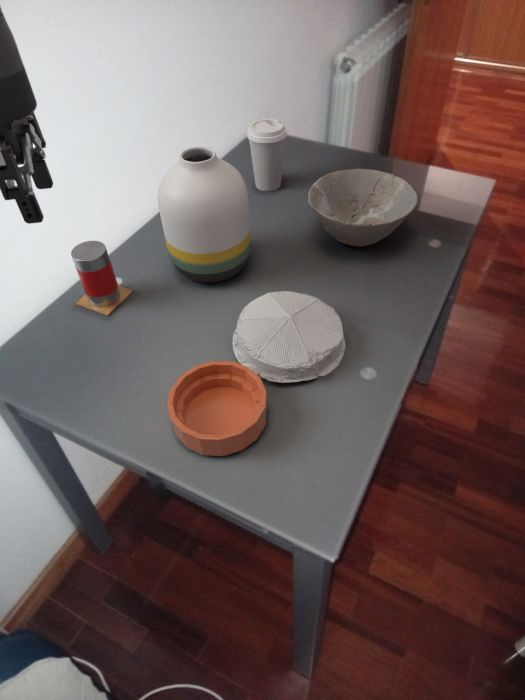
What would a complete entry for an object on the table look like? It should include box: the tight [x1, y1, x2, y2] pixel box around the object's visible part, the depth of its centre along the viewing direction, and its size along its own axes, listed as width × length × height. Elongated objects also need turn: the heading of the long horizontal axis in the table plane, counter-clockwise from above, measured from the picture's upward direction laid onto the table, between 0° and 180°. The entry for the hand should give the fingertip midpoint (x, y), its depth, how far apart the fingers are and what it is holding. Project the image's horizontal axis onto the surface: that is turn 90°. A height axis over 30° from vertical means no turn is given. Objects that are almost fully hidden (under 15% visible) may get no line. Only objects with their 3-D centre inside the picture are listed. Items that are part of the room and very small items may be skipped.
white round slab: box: [232, 290, 346, 384], centre depth 85 cm, size 20×20×7 cm
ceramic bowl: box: [307, 168, 418, 247], centre depth 106 cm, size 22×23×10 cm
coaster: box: [75, 284, 134, 317], centre depth 97 cm, size 8×8×1 cm
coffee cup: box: [246, 118, 288, 192], centre depth 120 cm, size 10×10×15 cm
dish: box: [166, 360, 268, 457], centre depth 75 cm, size 15×15×5 cm
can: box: [70, 240, 120, 307], centre depth 93 cm, size 6×6×11 cm
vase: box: [157, 145, 252, 283], centre depth 95 cm, size 17×17×24 cm
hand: (40, 203), depth 64 cm, fingers open, 8 cm apart
